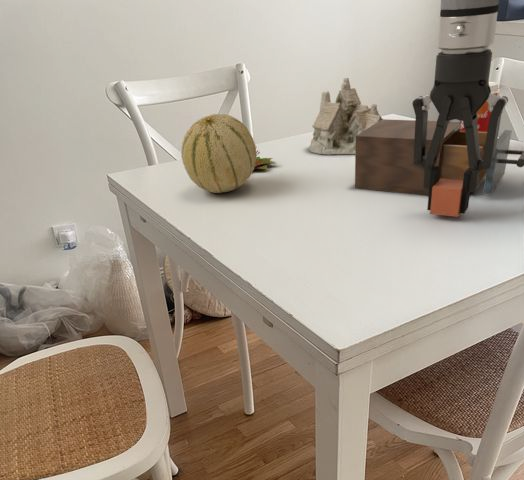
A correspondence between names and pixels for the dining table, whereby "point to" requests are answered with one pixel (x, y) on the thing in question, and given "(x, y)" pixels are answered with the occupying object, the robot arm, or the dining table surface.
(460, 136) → the drawer
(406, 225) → the dining table surface
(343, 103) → the ceramic cottage
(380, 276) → the dining table surface
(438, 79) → the robot arm
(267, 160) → the lily flower
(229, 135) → the cantaloupe
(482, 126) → the paper cup
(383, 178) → the cabinet
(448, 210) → the block
